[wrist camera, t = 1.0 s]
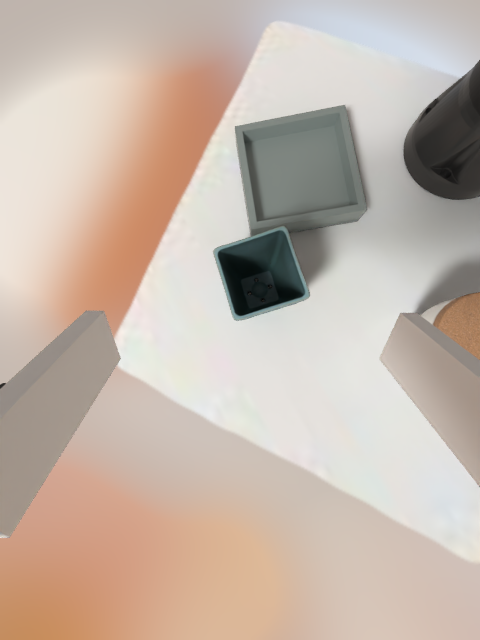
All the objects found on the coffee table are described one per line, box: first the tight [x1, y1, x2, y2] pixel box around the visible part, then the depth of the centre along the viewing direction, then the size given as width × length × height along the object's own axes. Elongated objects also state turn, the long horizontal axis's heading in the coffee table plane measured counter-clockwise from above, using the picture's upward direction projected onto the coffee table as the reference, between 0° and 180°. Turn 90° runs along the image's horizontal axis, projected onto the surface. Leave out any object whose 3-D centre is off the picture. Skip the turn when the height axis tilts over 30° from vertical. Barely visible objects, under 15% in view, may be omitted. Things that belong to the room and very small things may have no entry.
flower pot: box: [213, 226, 310, 321], centre depth 30 cm, size 9×9×9 cm
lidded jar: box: [420, 292, 480, 360], centre depth 27 cm, size 11×11×9 cm
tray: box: [235, 105, 367, 236], centre depth 34 cm, size 16×16×3 cm
